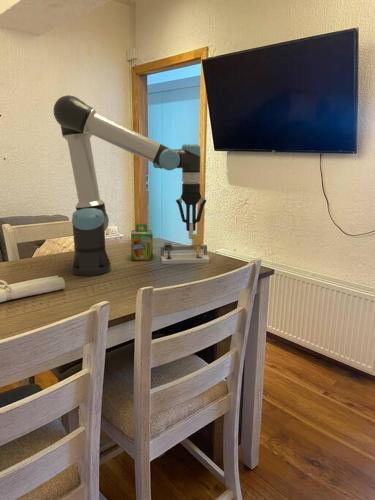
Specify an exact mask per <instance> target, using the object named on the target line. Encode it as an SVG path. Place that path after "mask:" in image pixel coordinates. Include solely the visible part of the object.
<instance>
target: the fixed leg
mask: <svg viewBox="0 0 375 500" xmlns="http://www.w3.org/2000/svg"><path fill="white" fill-rule="evenodd" d="M163 246H164V247H165V251H164V252H167V254H168V259H170V254H171V252H172V251H173V250H172V246H173V245H172V242H163Z"/></svg>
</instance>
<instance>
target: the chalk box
mask: <svg viewBox="0 0 375 500" xmlns="http://www.w3.org/2000/svg"><path fill="white" fill-rule="evenodd" d="M140 227H143V229H140ZM130 232H131V236H130V244H131V246H130V248H131V261H152V260H153V257H154V256H153V255H154V253H153V248H154V247H153V241H154V240H153V239H154V236H153V235H154V234H153V231H152V229H148V225H147V223H137V224H135V229H134V230H131V231H130Z"/></svg>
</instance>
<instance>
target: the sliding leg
mask: <svg viewBox="0 0 375 500" xmlns="http://www.w3.org/2000/svg"><path fill="white" fill-rule="evenodd" d="M191 245H193V250H192V251H196V253H197V257H199V253H200V252H199V251H200V250H201V249H200V245H201V235H200V234H199V233H193V239H191Z"/></svg>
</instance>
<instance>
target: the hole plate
mask: <svg viewBox="0 0 375 500" xmlns="http://www.w3.org/2000/svg"><path fill="white" fill-rule="evenodd" d="M200 250H203V252H199V257H197V252H194V253H190V252H189V253H170V259H168V253H165V252H166V251H165V247H164V245H161V246H160V261H161V264H162V265H173V264H174V265H175V264H177V265H178V264H181V265H182V264H203V263H204V264H205V263H207V264H208V263H209V262H211V258H210V257H209V255H208V245H207V244H200ZM172 251H194V250H193V245H192V244H191V245H188V244H187V245H172Z"/></svg>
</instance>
